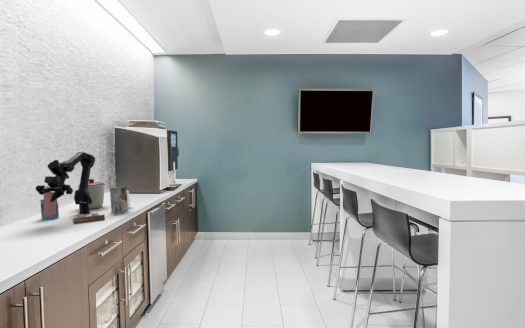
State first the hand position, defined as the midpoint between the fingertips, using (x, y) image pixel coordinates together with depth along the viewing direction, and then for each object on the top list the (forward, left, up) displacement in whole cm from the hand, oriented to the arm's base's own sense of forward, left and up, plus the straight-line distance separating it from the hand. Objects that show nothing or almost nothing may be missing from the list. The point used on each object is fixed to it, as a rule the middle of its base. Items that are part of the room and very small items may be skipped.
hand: (48, 201), depth 185 cm
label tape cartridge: (-25, +1, -14) cm, 29 cm away
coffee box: (-19, +40, -14) cm, 46 cm away
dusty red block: (-1, 0, -8) cm, 8 cm away
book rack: (-2, +20, -13) cm, 24 cm away
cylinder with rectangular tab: (-34, +45, -14) cm, 58 cm away
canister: (-49, +27, -14) cm, 57 cm away
